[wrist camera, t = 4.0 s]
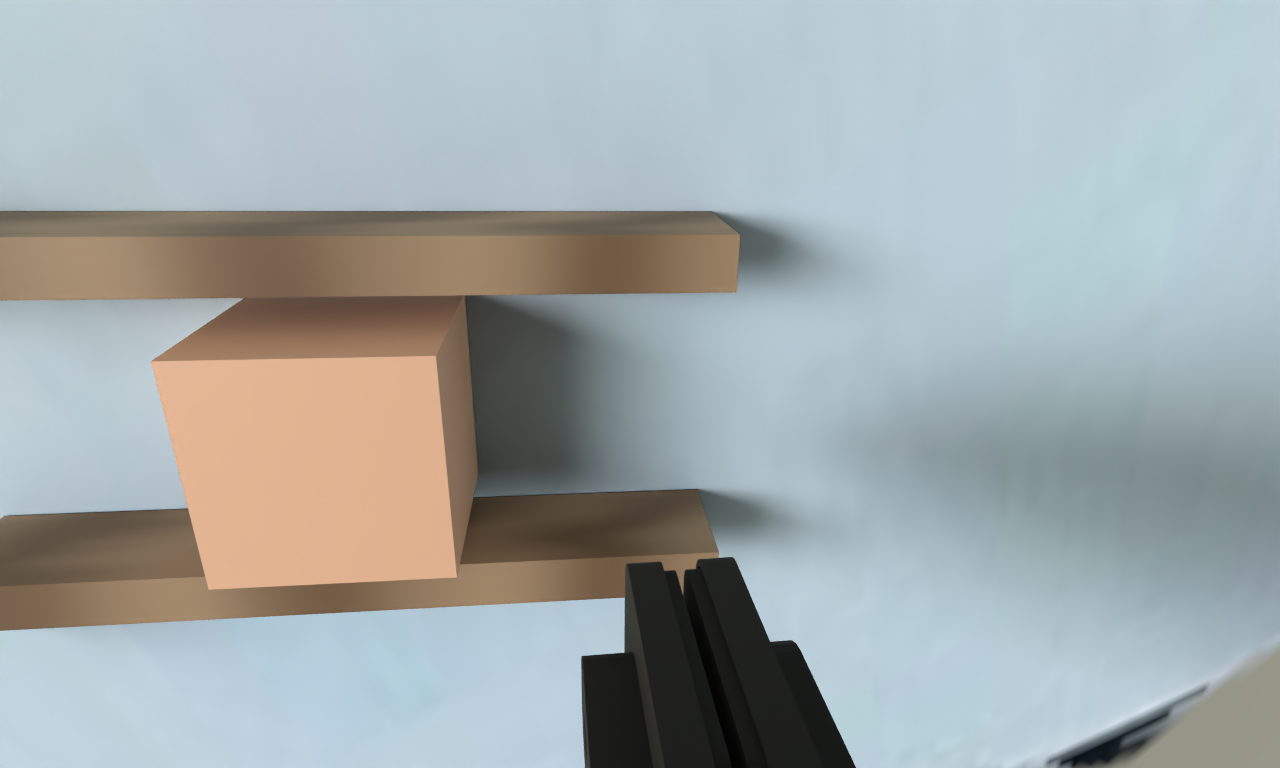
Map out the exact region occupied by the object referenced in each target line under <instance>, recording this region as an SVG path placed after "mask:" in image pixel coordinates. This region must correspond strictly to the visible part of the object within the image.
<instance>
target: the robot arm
mask: <svg viewBox="0 0 1280 768" xmlns="http://www.w3.org/2000/svg"><path fill="white" fill-rule="evenodd" d="M581 669H582V713H583V738H584V757H585V768H856V767H855V765H854V763H853V760H852V758H851V756H850V754H849V752H848V750H847V748H846V746H845V744H844V741H843V739H842V737H841V735H840V733H839V731H838V729H837V727H836V725H835V722H834V720H833V718H832V716H831V714H830V712H829V710H828V708H827V706H826V703H825V701H824V699H823V697H822V695H821V693H820V691H819V689H818V687H817V684H816V682H815V680H814V678H813V676H812V674H811V672H810V670H809V668H808V665H807V663H806V661H805V659H804V657H803V655H802V653H801V651H800V649H799V647H798V646H797V644H796V643H795V642H793V641H792V640H789V641H776V642H770V641H769V638H768V636H767V634H766V631H765V629H764V626H763V624H762V622H761V619H760V617H759V615H758V612H757V610H756V608H755V605H754V603H753V601H752V598H751V596H750V594H749V591H748V589H747V586H746V584H745V582H744V579H743V577H742V575H741V572H740V570H739V568H738V565H737V563H736V561H735V559H734V558H733V557H726V558H709V559H698V560H697V563H696V569H686V570H685V573H684V586H683V593H682V590H681V586H680V583H679V579H678V576H677V573H676V571H675V570H669V571H664V568H663V565H662V562H661V561H660V562H643V563H627V564H626V567H625V653H617V654H603V655H590V656H582V659H581Z"/></svg>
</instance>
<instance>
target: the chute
mask: <svg viewBox="0 0 1280 768" xmlns="http://www.w3.org/2000/svg"><path fill="white" fill-rule="evenodd" d="M739 247H740V234H739V233H737V232H736V231H735V230H734V229H733V228H731V227H730V226H729V225H728V224H726V223H725V222H724V221H723V220H722V219H720V218H719V217H718V216H717V215H716V214H714V213H713V212H712V211H0V300H85V299H176V298H266V297H357V296H448V295H538V294H629V293H719V292H736V291H737V276H738V261H739ZM718 555H719V552H718V549H717V546H716V543H715V540H714V537H713V534H712V531H711V528H710V525H709V522H708V520H707V517H706V514H705V511H704V508H703V505H702V502H701V499H700V496H699V493H698V490H697V489H694V490H668V491H642V492H616V493H590V494H564V495H538V496H512V497H487V498H473V502H472V507H471V512H470V517H469V522H468V526H467V531H466V536H465V541H464V546H463V550H462V555H461V560H460V565H459V570H458V575H457V578H436V579H416V580H396V581H375V582H355V583H335V584H315V585H294V586H274V587H254V588H233V589H213V590H209V589H208V585H207V581H206V578H205V574H204V570H203V566H202V562H201V558H200V554H199V550H198V546H197V542H196V538H195V534H194V530H193V526H192V522H191V518H190V514H189V510H188V509H176V510H150V511H124V512H98V513H72V514H46V515H20V516H4V517H3V518H1V519H0V631H3V630H22V629H41V628H59V627H78V626H97V625H116V624H135V623H153V622H172V621H191V620H210V619H229V618H247V617H266V616H285V615H304V614H323V613H341V612H360V611H379V610H398V609H417V608H435V607H454V606H473V605H492V604H511V603H529V602H548V601H567V600H586V599H605V598H623V597H625V567H626V564H627V563H643V562H660V561H661V562H662V565H663V568H664V571H669V570H675V571H676V573H677V576H678V579H679V583H680V586H681V590H682V593H683V586H684V573H685V570H686V569H696V563H697V560H698V559H709V558H718Z"/></svg>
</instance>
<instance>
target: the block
mask: <svg viewBox="0 0 1280 768" xmlns="http://www.w3.org/2000/svg"><path fill="white" fill-rule="evenodd" d="M151 364H152V368H153V371H154V375H155V379H156V383H157V387H158V391H159V395H160V399H161V403H162V407H163V411H164V415H165V419H166V423H167V427H168V431H169V435H170V439H171V443H172V447H173V451H174V455H175V459H176V463H177V467H178V471H179V475H180V478H181V482H182V486H183V490H184V494H185V498H186V502H187V506H188V510H189V514H190V518H191V522H192V526H193V530H194V534H195V538H196V542H197V546H198V550H199V554H200V558H201V562H202V566H203V570H204V574H205V578H206V581H207V585H208V589H209V590H213V589H233V588H254V587H274V586H294V585H315V584H335V583H355V582H375V581H396V580H416V579H436V578H457V575H458V570H459V565H460V560H461V555H462V550H463V546H464V541H465V536H466V531H467V526H468V522H469V517H470V512H471V507H472V502H473V497H474V493H475V488H476V483H477V478H478V461H477V448H476V435H475V422H474V409H473V396H472V383H471V370H470V357H469V344H468V331H467V317H466V304H465V295H448V296H357V297H266V298H244V299H242V300H241V301H239V302H238V303H237V304H235V305H234V306H232V307H231V308H229V309H228V310H226V311H225V312H223V313H222V314H220V315H219V316H217V317H216V318H214V319H213V320H211V321H210V322H208V323H207V324H206V325H204V326H203V327H201V328H200V329H198V330H197V331H195V332H194V333H192V334H191V335H189V336H188V337H186V338H185V339H183V340H182V341H180V342H179V343H177V344H176V345H175V346H173V347H172V348H170V349H169V350H167V351H166V352H164V353H163V354H161V355H160V356H158V357H157V358H155V359H154V360H152V361H151Z"/></svg>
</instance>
